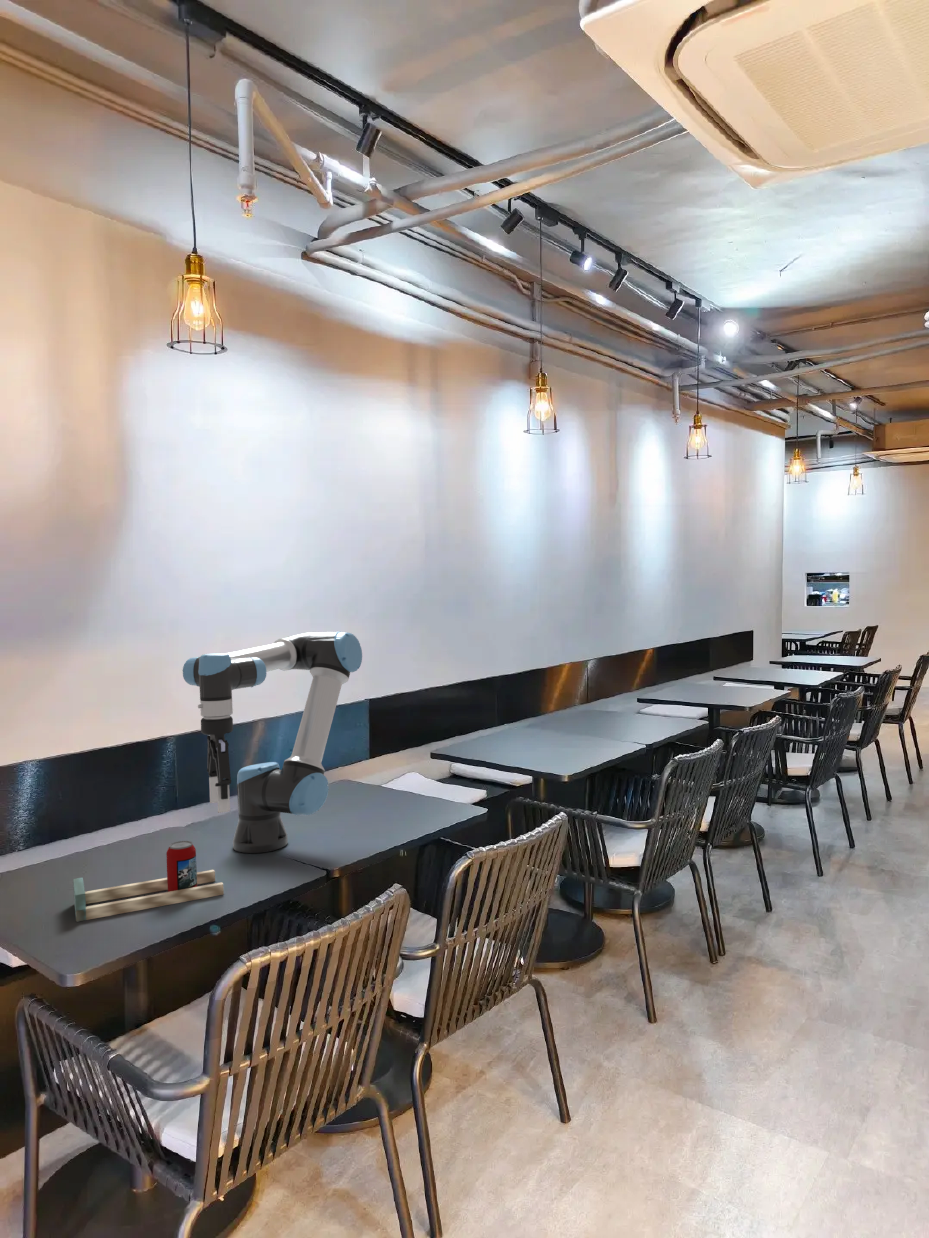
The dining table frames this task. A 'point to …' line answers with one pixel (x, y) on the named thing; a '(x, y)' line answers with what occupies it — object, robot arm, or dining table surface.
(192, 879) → the beverage can
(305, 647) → the robot arm
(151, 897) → the channel
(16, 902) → the dining table surface
